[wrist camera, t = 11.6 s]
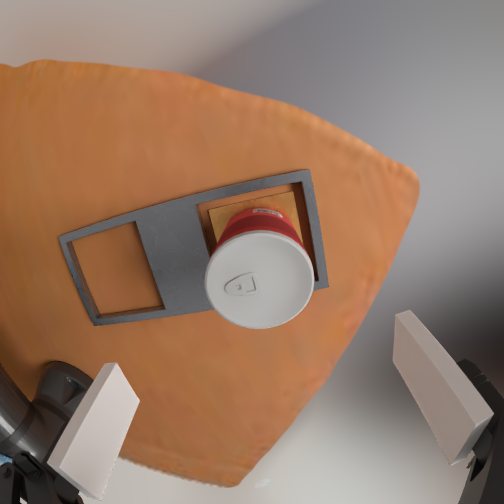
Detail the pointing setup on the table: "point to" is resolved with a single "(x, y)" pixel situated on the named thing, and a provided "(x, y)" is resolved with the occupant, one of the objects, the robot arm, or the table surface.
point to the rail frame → (193, 244)
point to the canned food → (259, 271)
